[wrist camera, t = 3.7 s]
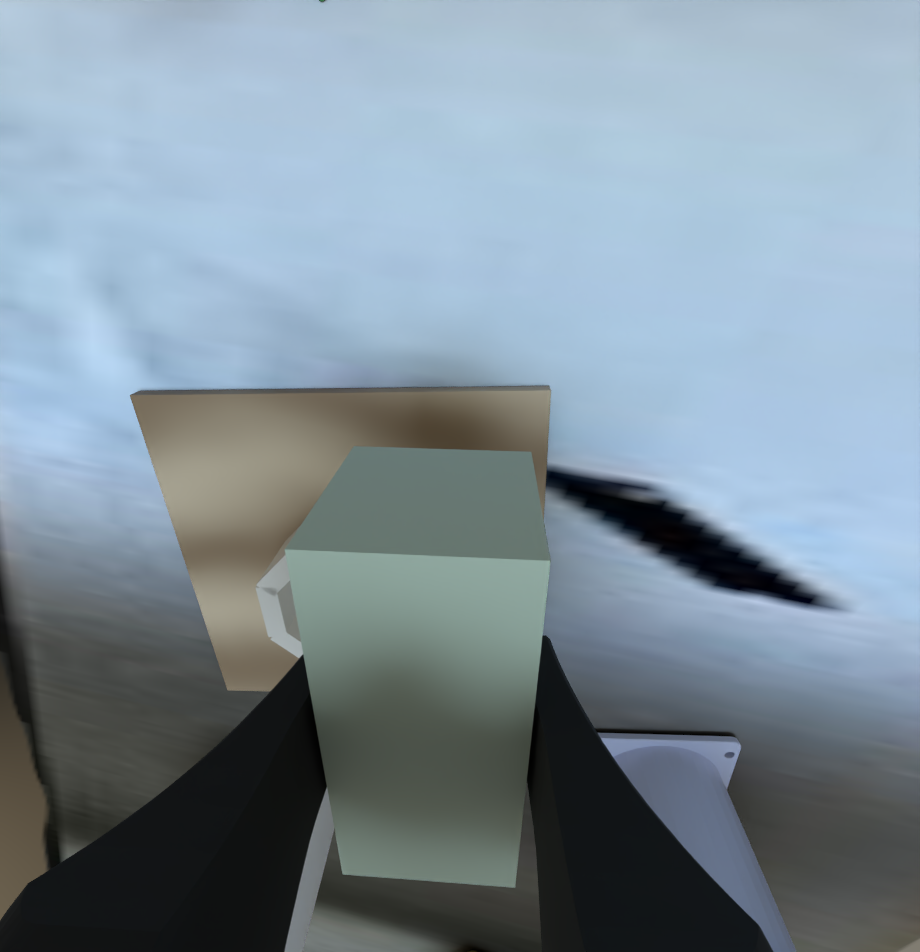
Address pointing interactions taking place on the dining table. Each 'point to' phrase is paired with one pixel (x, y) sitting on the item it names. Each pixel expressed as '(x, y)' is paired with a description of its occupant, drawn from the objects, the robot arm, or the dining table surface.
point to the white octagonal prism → (279, 603)
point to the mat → (296, 479)
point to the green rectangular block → (424, 656)
